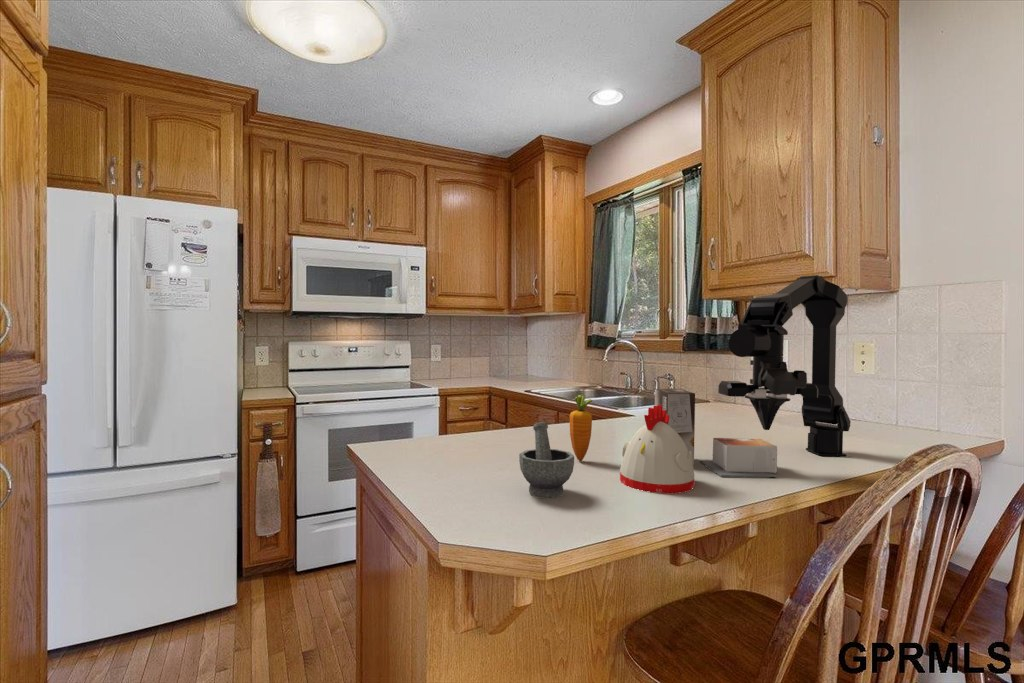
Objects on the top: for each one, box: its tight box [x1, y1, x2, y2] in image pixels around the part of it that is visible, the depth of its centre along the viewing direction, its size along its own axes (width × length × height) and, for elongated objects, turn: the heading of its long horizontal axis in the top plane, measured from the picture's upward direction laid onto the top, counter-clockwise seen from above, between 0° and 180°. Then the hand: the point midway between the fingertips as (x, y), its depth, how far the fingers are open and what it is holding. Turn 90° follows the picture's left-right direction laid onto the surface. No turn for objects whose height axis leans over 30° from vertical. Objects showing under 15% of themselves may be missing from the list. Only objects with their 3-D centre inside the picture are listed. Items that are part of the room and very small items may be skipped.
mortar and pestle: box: [518, 421, 575, 499], centre depth 94 cm, size 11×9×12 cm
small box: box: [712, 437, 778, 473], centre depth 111 cm, size 8×6×10 cm
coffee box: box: [654, 388, 696, 467], centre depth 117 cm, size 9×6×16 cm
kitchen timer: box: [619, 405, 695, 494], centre depth 101 cm, size 14×14×15 cm
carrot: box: [569, 394, 593, 462], centre depth 116 cm, size 5×5×15 cm
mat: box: [699, 459, 777, 478], centre depth 111 cm, size 11×12×1 cm
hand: (766, 429), depth 111 cm, fingers closed
